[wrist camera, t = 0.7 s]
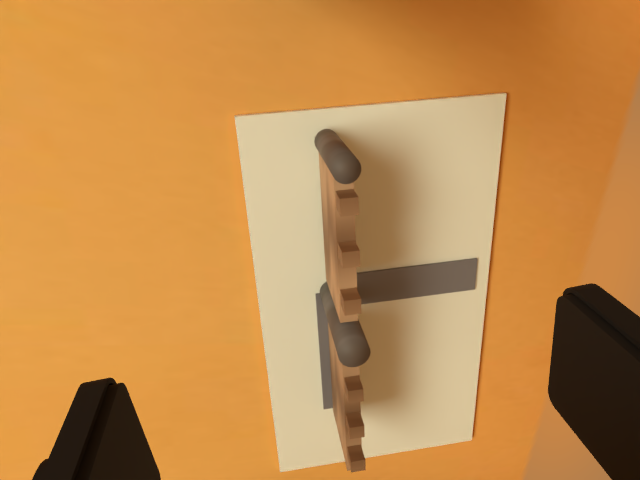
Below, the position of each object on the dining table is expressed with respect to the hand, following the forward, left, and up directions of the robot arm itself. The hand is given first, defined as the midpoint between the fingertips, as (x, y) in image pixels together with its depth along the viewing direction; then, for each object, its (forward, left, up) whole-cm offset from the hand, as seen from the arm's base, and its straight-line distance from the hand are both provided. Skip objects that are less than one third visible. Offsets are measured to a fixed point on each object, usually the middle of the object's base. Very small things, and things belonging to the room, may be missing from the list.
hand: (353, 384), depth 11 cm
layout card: (-8, -11, -20) cm, 24 cm away
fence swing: (-2, -4, -19) cm, 20 cm away
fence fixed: (-11, -9, -20) cm, 25 cm away
